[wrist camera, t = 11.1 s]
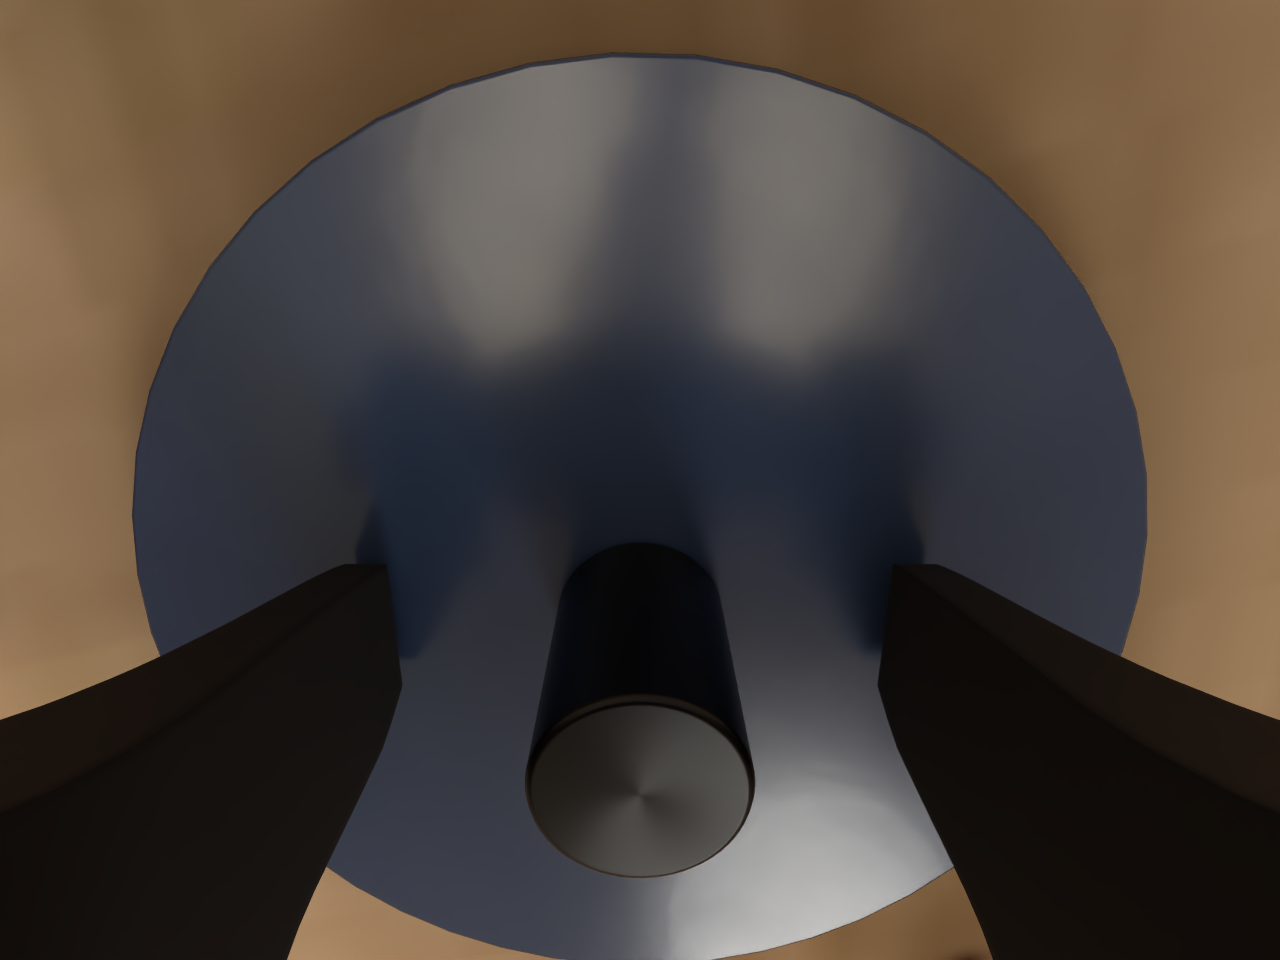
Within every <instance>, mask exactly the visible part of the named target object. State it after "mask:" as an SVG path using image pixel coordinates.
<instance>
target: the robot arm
mask: <svg viewBox="0 0 1280 960" xmlns="http://www.w3.org/2000/svg"><path fill="white" fill-rule="evenodd" d="M402 686H403V684H402V677H401V669H400V661H399V654H398V646H397V638H396V631H395V623H394V615H393V608H392V600H391V592H390V585H389V577H388V569H387V564H343V565H340V566H337V567H335V568H332V569H330V570H328V571H325V572H323V573H321V574H319V575H317V576H315V577H313V578H311V579H309V580H307V581H305V582H303V583H302V584H300V585H298V586H296V587H294V588H292V589H290V590H288V591H286V592H285V593H283V594H281V595H279V596H277V597H275V598H273V599H272V600H270V601H268V602H266V603H264V604H262V605H260V606H259V607H257V608H255V609H253V610H251V611H249V612H247V613H245V614H244V615H242V616H240V617H238V618H236V619H234V620H232V621H231V622H229V623H227V624H225V625H223V626H221V627H219V628H217V629H215V630H213V631H211V632H209V633H207V634H205V635H203V636H200V637H198V638H196V639H194V640H192V641H190V642H188V643H186V644H184V645H182V646H180V647H178V648H176V649H174V650H172V651H170V652H168V653H166V654H164V655H162V656H160V657H158V658H156V659H154V660H152V661H149V662H147V663H145V664H143V665H141V666H138V667H136V668H134V669H132V670H129V671H127V672H125V673H122V674H120V675H118V676H116V677H113V678H111V679H109V680H106V681H104V682H101V683H99V684H96V685H94V686H91V687H89V688H86V689H84V690H81V691H79V692H76V693H74V694H71V695H69V696H66V697H64V698H61V699H59V700H56V701H53V702H51V703H48V704H45V705H43V706H40V707H37V708H34V709H31V710H28V711H25V712H22V713H19V714H16V715H13V716H10V717H7V718H5V719H2V720H0V960H287V958H288V955H289V953H290V950H291V947H292V944H293V942H294V939H295V936H296V933H297V931H298V928H299V925H300V923H301V921H302V919H303V916H304V914H305V912H306V909H307V907H308V905H309V902H310V900H311V898H312V895H313V893H314V891H315V889H316V887H317V885H318V883H319V881H320V879H321V876H322V874H323V872H324V870H325V868H326V866H327V864H328V862H329V860H330V858H331V856H332V854H333V852H334V850H335V848H336V845H337V843H338V841H339V839H340V837H341V835H342V833H343V831H344V829H345V827H346V825H347V823H348V821H349V819H350V817H351V815H352V812H353V810H354V808H355V806H356V804H357V802H358V800H359V798H360V796H361V794H362V792H363V790H364V787H365V785H366V783H367V781H368V779H369V777H370V775H371V773H372V771H373V768H374V766H375V764H376V762H377V760H378V758H379V756H380V753H381V751H382V749H383V747H384V744H385V741H386V738H387V735H388V732H389V729H390V726H391V723H392V720H393V716H394V713H395V710H396V706H397V703H398V700H399V696H400V693H401V690H402ZM877 686H878V690H879V693H880V696H881V700H882V703H883V706H884V710H885V713H886V716H887V720H888V723H889V726H890V729H891V732H892V735H893V738H894V741H895V744H896V747H897V749H898V751H899V753H900V756H901V758H902V760H903V762H904V764H905V766H906V768H907V771H908V773H909V775H910V777H911V779H912V781H913V783H914V785H915V787H916V790H917V792H918V794H919V796H920V798H921V800H922V802H923V804H924V806H925V808H926V810H927V812H928V814H929V817H930V819H931V821H932V823H933V825H934V827H935V829H936V831H937V833H938V835H939V837H940V839H941V841H942V843H943V845H944V848H945V850H946V852H947V854H948V856H949V858H950V860H951V862H952V864H953V866H954V868H955V870H956V872H957V874H958V876H959V879H960V881H961V883H962V885H963V887H964V889H965V891H966V893H967V895H968V898H969V900H970V902H971V905H972V907H973V909H974V912H975V914H976V916H977V919H978V921H979V923H980V925H981V928H982V931H983V933H984V936H985V939H986V942H987V944H988V947H989V950H990V953H991V955H992V958H993V960H1280V720H1278V719H1275V718H1272V717H1269V716H1266V715H1263V714H1260V713H1258V712H1255V711H1252V710H1249V709H1246V708H1244V707H1241V706H1238V705H1235V704H1233V703H1230V702H1227V701H1225V700H1222V699H1220V698H1217V697H1215V696H1212V695H1210V694H1207V693H1205V692H1202V691H1200V690H1197V689H1195V688H1192V687H1190V686H1187V685H1185V684H1182V683H1180V682H1177V681H1175V680H1172V679H1170V678H1167V677H1165V676H1163V675H1161V674H1158V673H1156V672H1154V671H1151V670H1149V669H1147V668H1144V667H1142V666H1140V665H1138V664H1136V663H1133V662H1131V661H1129V660H1127V659H1125V658H1123V657H1121V656H1119V655H1117V654H1114V653H1112V652H1110V651H1108V650H1106V649H1104V648H1102V647H1100V646H1098V645H1095V644H1093V643H1091V642H1089V641H1087V640H1085V639H1083V638H1081V637H1079V636H1077V635H1075V634H1073V633H1071V632H1069V631H1067V630H1065V629H1064V628H1062V627H1060V626H1058V625H1056V624H1054V623H1052V622H1050V621H1048V620H1046V619H1044V618H1043V617H1041V616H1039V615H1037V614H1035V613H1033V612H1031V611H1029V610H1027V609H1026V608H1024V607H1022V606H1020V605H1018V604H1016V603H1014V602H1013V601H1011V600H1009V599H1007V598H1005V597H1003V596H1001V595H1000V594H998V593H996V592H994V591H992V590H990V589H988V588H987V587H985V586H983V585H981V584H979V583H977V582H975V581H973V580H971V579H969V578H967V577H965V576H963V575H961V574H959V573H957V572H955V571H953V570H950V569H948V568H946V567H943V566H940V565H938V564H893V569H892V577H891V585H890V592H889V600H888V608H887V615H886V623H885V631H884V638H883V646H882V654H881V661H880V669H879V677H878V684H877Z"/></svg>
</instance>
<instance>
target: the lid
mask: <svg viewBox="0 0 1280 960" xmlns="http://www.w3.org/2000/svg"><path fill="white" fill-rule="evenodd" d="M132 519H133V530H134V541H135V553H136V564H137V575H138V579H139V584H140V588H141V592H142V596H143V600H144V605H145V609H146V613H147V617H148V622H149V626H150V630H151V633H152V636H153V639H154V641H155V644H156V646H157V649H158V651H159V654H160V656H162V655H164V654H166V653H168V652H170V651H172V650H174V649H176V648H178V647H180V646H182V645H184V644H186V643H188V642H190V641H192V640H194V639H196V638H198V637H200V636H203V635H205V634H207V633H209V632H211V631H213V630H215V629H217V628H219V627H221V626H223V625H225V624H227V623H229V622H231V621H232V620H234V619H236V618H238V617H240V616H242V615H244V614H245V613H247V612H249V611H251V610H253V609H255V608H257V607H259V606H260V605H262V604H264V603H266V602H268V601H270V600H272V599H273V598H275V597H277V596H279V595H281V594H283V593H285V592H286V591H288V590H290V589H292V588H294V587H296V586H298V585H300V584H302V583H303V582H305V581H307V580H309V579H311V578H313V577H315V576H317V575H319V574H321V573H323V572H325V571H328V570H330V569H332V568H335V567H337V566H340V565H343V564H387V569H388V577H389V585H390V592H391V600H392V608H393V615H394V623H395V631H396V638H397V646H398V654H399V661H400V669H401V677H402V684H403V686H402V690H401V693H400V696H399V700H398V703H397V706H396V710H395V713H394V716H393V720H392V723H391V726H390V729H389V732H388V735H387V738H386V741H385V744H384V747H383V749H382V751H381V753H380V756H379V758H378V760H377V762H376V764H375V766H374V768H373V771H372V773H371V775H370V777H369V779H368V781H367V783H366V785H365V787H364V790H363V792H362V794H361V796H360V798H359V800H358V802H357V804H356V806H355V808H354V810H353V812H352V815H351V817H350V819H349V821H348V823H347V825H346V827H345V829H344V831H343V833H342V835H341V837H340V839H339V841H338V843H337V845H336V848H335V850H334V852H333V854H332V856H331V858H330V860H329V862H328V864H327V866H326V867H327V868H329V869H330V870H332V871H333V872H335V873H336V874H338V875H339V876H341V877H342V878H344V879H345V880H346V881H348V882H349V883H351V884H352V885H354V886H355V887H357V888H359V889H361V890H363V891H365V892H366V893H368V894H370V895H372V896H374V897H376V898H378V899H379V900H381V901H383V902H385V903H387V904H389V905H390V906H392V907H394V908H396V909H398V910H400V911H402V912H404V913H406V914H409V915H411V916H414V917H416V918H418V919H421V920H423V921H425V922H428V923H430V924H433V925H435V926H437V927H440V928H442V929H445V930H447V931H449V932H452V933H456V934H459V935H462V936H465V937H469V938H472V939H475V940H478V941H482V942H485V943H488V944H491V945H495V946H498V947H501V948H506V949H511V950H516V951H521V952H525V953H530V954H535V955H540V956H545V957H550V958H556V959H566V960H716V959H722V958H728V957H734V956H739V955H745V954H751V953H757V952H762V951H766V950H770V949H773V948H777V947H781V946H784V945H788V944H792V943H795V942H799V941H803V940H806V939H810V938H814V937H816V936H819V935H821V934H824V933H827V932H829V931H832V930H835V929H837V928H840V927H842V926H845V925H848V924H850V923H853V922H856V921H858V920H861V919H863V918H865V917H867V916H869V915H871V914H873V913H875V912H877V911H879V910H881V909H883V908H885V907H887V906H889V905H891V904H893V903H895V902H897V901H899V900H901V899H903V898H905V897H907V896H909V895H911V894H913V893H914V892H916V891H917V890H919V889H921V888H922V887H924V886H925V885H927V884H929V883H930V882H932V881H933V880H935V879H936V878H938V877H940V876H941V875H943V874H944V873H946V872H947V871H949V870H951V869H952V868H954V866H953V864H952V862H951V860H950V858H949V856H948V854H947V852H946V850H945V848H944V845H943V843H942V841H941V839H940V837H939V835H938V833H937V831H936V829H935V827H934V825H933V823H932V821H931V819H930V817H929V814H928V812H927V810H926V808H925V806H924V804H923V802H922V800H921V798H920V796H919V794H918V792H917V790H916V787H915V785H914V783H913V781H912V779H911V777H910V775H909V773H908V771H907V768H906V766H905V764H904V762H903V760H902V758H901V756H900V753H899V751H898V749H897V747H896V744H895V741H894V738H893V735H892V732H891V729H890V726H889V723H888V720H887V716H886V713H885V710H884V706H883V703H882V700H881V696H880V693H879V690H878V686H877V684H878V677H879V669H880V661H881V654H882V646H883V638H884V631H885V623H886V615H887V608H888V600H889V592H890V585H891V577H892V569H893V564H938V565H940V566H943V567H946V568H948V569H950V570H953V571H955V572H957V573H959V574H961V575H963V576H965V577H967V578H969V579H971V580H973V581H975V582H977V583H979V584H981V585H983V586H985V587H987V588H988V589H990V590H992V591H994V592H996V593H998V594H1000V595H1001V596H1003V597H1005V598H1007V599H1009V600H1011V601H1013V602H1014V603H1016V604H1018V605H1020V606H1022V607H1024V608H1026V609H1027V610H1029V611H1031V612H1033V613H1035V614H1037V615H1039V616H1041V617H1043V618H1044V619H1046V620H1048V621H1050V622H1052V623H1054V624H1056V625H1058V626H1060V627H1062V628H1064V629H1065V630H1067V631H1069V632H1071V633H1073V634H1075V635H1077V636H1079V637H1081V638H1083V639H1085V640H1087V641H1089V642H1091V643H1093V644H1095V645H1098V646H1100V647H1102V648H1104V649H1106V650H1108V651H1110V652H1112V653H1114V654H1117V655H1119V656H1121V654H1122V652H1123V649H1124V645H1125V642H1126V638H1127V635H1128V631H1129V628H1130V624H1131V621H1132V617H1133V614H1134V610H1135V607H1136V603H1137V600H1138V596H1139V592H1140V584H1141V577H1142V570H1143V562H1144V555H1145V548H1146V541H1147V473H1146V467H1145V461H1144V455H1143V449H1142V443H1141V437H1140V431H1139V425H1138V419H1137V412H1136V409H1135V406H1134V403H1133V400H1132V397H1131V394H1130V391H1129V388H1128V385H1127V381H1126V378H1125V375H1124V372H1123V369H1122V366H1121V363H1120V360H1119V357H1118V354H1117V351H1116V348H1115V346H1114V344H1113V342H1112V340H1111V338H1110V336H1109V335H1108V333H1107V331H1106V329H1105V327H1104V325H1103V323H1102V321H1101V319H1100V317H1099V315H1098V313H1097V311H1096V309H1095V307H1094V305H1093V303H1092V301H1091V300H1090V298H1089V296H1088V294H1087V292H1086V290H1085V288H1084V286H1083V285H1082V283H1081V282H1080V281H1079V279H1078V278H1077V277H1076V275H1075V274H1074V272H1073V271H1072V270H1071V268H1070V267H1069V266H1068V264H1067V263H1066V262H1065V260H1064V259H1063V257H1062V256H1061V255H1060V253H1059V252H1058V251H1057V249H1056V248H1055V247H1054V245H1053V244H1052V242H1051V241H1050V240H1049V238H1048V237H1047V236H1046V234H1045V233H1044V232H1043V230H1042V229H1041V228H1040V227H1039V226H1038V225H1037V224H1036V223H1035V222H1034V221H1033V220H1032V219H1031V218H1030V217H1029V216H1028V215H1027V214H1026V213H1025V212H1024V211H1023V210H1022V209H1021V208H1020V207H1019V206H1018V205H1017V204H1016V203H1015V202H1014V201H1013V200H1012V199H1011V198H1010V197H1009V196H1008V195H1007V194H1006V193H1005V192H1004V191H1003V190H1002V189H1001V188H1000V187H999V186H998V185H997V184H996V183H995V182H994V181H993V180H992V179H991V178H990V177H989V176H987V175H986V174H985V173H983V172H982V171H981V170H979V169H978V168H976V167H975V166H974V165H972V164H971V163H969V162H968V161H967V160H965V159H964V158H963V157H961V156H960V155H958V154H957V153H956V152H954V151H953V150H952V149H950V148H949V147H947V146H946V145H945V144H943V143H942V142H940V141H939V140H938V139H936V138H935V137H934V136H932V135H931V134H929V133H928V132H927V131H925V130H923V129H921V128H919V127H917V126H915V125H913V124H911V123H909V122H907V121H905V120H903V119H901V118H899V117H898V116H896V115H894V114H892V113H890V112H888V111H886V110H884V109H882V108H880V107H878V106H876V105H874V104H872V103H870V102H868V101H866V100H864V99H862V98H860V97H859V96H857V95H854V94H851V93H848V92H845V91H842V90H839V89H836V88H833V87H830V86H827V85H824V84H821V83H818V82H815V81H812V80H809V79H806V78H803V77H800V76H797V75H794V74H791V73H788V72H785V71H782V70H779V69H775V68H770V67H764V66H758V65H753V64H747V63H741V62H735V61H730V60H724V59H718V58H713V57H707V56H701V55H692V54H652V53H604V54H596V55H588V56H580V57H572V58H564V59H556V60H548V61H540V62H532V63H527V64H523V65H520V66H516V67H513V68H509V69H505V70H502V71H498V72H495V73H491V74H488V75H484V76H480V77H477V78H473V79H470V80H466V81H463V82H459V83H455V84H452V85H449V86H447V87H445V88H442V89H440V90H438V91H436V92H433V93H431V94H429V95H427V96H425V97H422V98H420V99H418V100H416V101H413V102H411V103H409V104H407V105H405V106H402V107H400V108H398V109H396V110H393V111H391V112H389V113H387V114H385V115H382V116H380V117H378V118H376V119H374V120H373V121H371V122H370V123H368V124H367V125H365V126H364V127H362V128H361V129H359V130H358V131H356V132H354V133H353V134H351V135H350V136H348V137H347V138H345V139H344V140H342V141H341V142H339V143H337V144H336V145H334V146H333V147H331V148H330V149H328V150H327V151H325V152H324V153H322V154H321V155H319V156H317V157H316V158H314V159H313V160H311V161H310V162H309V163H308V164H307V165H306V166H305V167H303V168H302V169H301V170H300V171H299V172H298V173H297V174H296V175H294V176H293V177H292V178H291V179H290V180H289V181H288V182H287V183H286V184H284V185H283V186H282V187H281V188H280V189H279V190H278V191H277V192H275V193H274V194H273V195H272V196H271V197H270V198H269V199H268V200H267V201H265V202H264V203H263V204H262V205H261V206H260V207H259V208H258V209H256V210H255V211H254V213H253V214H252V215H251V216H250V218H249V219H248V220H247V221H246V222H245V224H244V225H243V226H242V227H241V229H240V230H239V231H238V232H237V234H236V235H235V236H234V237H233V238H232V240H231V241H230V242H229V243H228V245H227V246H226V247H225V248H224V249H223V251H222V252H221V253H220V254H219V256H218V257H217V258H216V259H215V260H214V262H213V263H212V264H211V265H210V267H209V268H208V270H207V272H206V273H205V275H204V277H203V278H202V280H201V282H200V284H199V285H198V287H197V289H196V290H195V292H194V294H193V296H192V297H191V299H190V301H189V302H188V304H187V306H186V308H185V309H184V311H183V313H182V314H181V316H180V318H179V320H178V321H177V323H176V325H175V326H174V329H173V331H172V334H171V337H170V339H169V342H168V344H167V347H166V349H165V352H164V355H163V357H162V360H161V362H160V365H159V367H158V370H157V373H156V375H155V378H154V380H153V383H152V385H151V388H150V391H149V395H148V400H147V405H146V409H145V414H144V418H143V423H142V428H141V432H140V437H139V441H138V446H137V450H136V460H135V477H134V493H133V509H132Z"/></svg>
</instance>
